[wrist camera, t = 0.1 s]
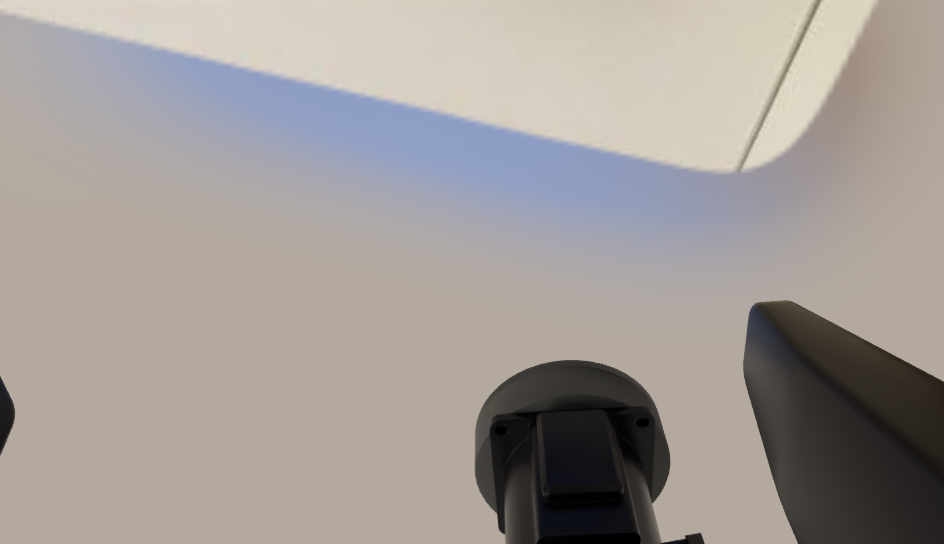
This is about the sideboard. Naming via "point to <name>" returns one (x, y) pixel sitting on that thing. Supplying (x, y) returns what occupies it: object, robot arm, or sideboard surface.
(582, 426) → the robot arm
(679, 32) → the sideboard surface
